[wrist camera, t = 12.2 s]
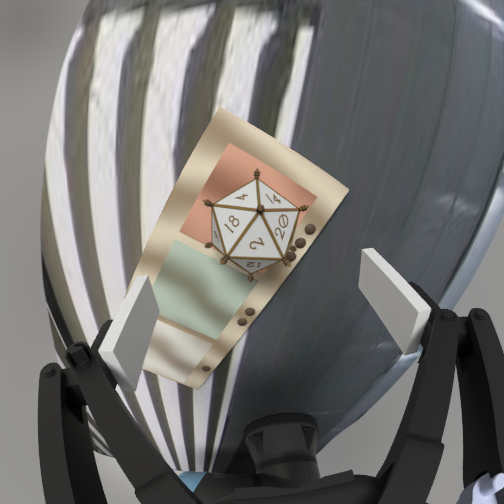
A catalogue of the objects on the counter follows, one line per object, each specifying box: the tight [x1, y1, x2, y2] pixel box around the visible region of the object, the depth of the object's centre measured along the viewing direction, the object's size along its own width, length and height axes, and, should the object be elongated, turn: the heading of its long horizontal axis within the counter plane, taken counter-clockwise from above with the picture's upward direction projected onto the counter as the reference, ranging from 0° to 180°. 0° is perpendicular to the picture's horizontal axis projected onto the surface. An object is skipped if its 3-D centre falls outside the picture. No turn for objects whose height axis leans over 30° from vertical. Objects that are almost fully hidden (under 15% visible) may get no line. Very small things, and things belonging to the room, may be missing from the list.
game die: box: [203, 168, 309, 283], centre depth 24 cm, size 9×8×10 cm
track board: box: [124, 107, 349, 389], centre depth 31 cm, size 35×15×1 cm, turn 149°
